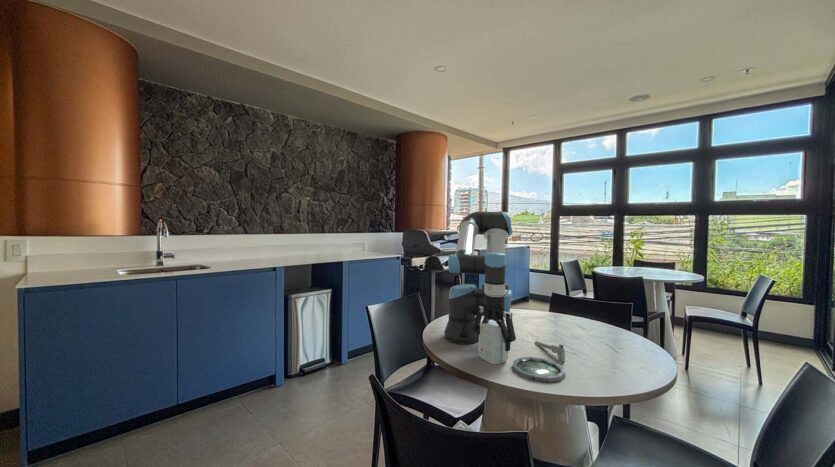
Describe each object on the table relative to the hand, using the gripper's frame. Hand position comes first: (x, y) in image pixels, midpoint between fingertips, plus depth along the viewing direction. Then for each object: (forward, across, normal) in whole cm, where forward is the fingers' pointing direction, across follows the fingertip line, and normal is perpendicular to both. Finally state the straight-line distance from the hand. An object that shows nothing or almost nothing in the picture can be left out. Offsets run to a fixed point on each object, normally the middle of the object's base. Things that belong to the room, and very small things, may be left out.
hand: (492, 355), depth 123 cm
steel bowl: (+2, +16, +3) cm, 16 cm away
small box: (+2, 0, 0) cm, 2 cm away
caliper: (+2, +11, +23) cm, 26 cm away
